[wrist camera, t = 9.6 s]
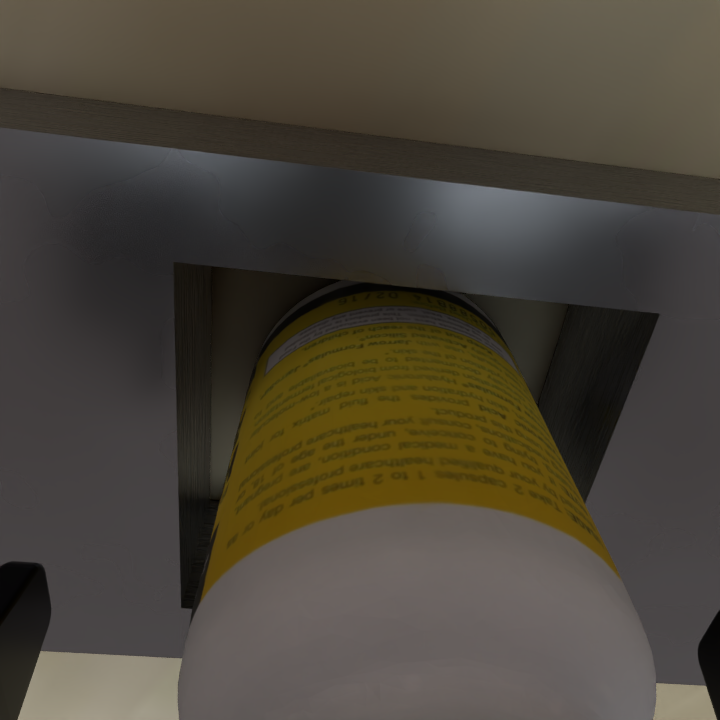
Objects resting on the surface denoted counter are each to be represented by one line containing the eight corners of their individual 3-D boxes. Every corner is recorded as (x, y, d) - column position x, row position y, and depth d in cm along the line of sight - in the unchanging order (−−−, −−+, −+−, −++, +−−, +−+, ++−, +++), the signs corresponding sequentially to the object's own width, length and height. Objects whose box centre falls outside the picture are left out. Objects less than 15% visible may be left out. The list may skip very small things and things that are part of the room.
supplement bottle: (208, 315, 12) (-109, 1032, 4) (475, 228, 11) (890, 857, 3) (306, 510, 15) (260, 1204, 6) (530, 449, 14) (836, 1134, 5)
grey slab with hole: (898, 202, 11) (1066, 257, 9) (691, 579, 16) (759, 688, 14) (-136, 70, 10) (-308, 89, 7) (-25, 531, 15) (-105, 643, 12)
